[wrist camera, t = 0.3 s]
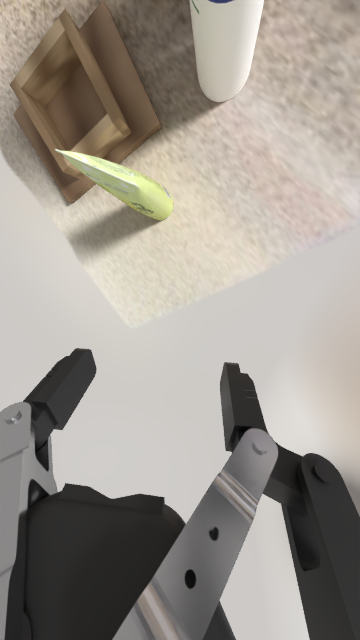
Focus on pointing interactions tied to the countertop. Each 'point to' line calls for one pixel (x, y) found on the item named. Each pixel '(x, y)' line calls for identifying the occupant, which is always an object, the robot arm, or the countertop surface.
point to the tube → (125, 184)
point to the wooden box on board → (82, 98)
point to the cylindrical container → (224, 44)
